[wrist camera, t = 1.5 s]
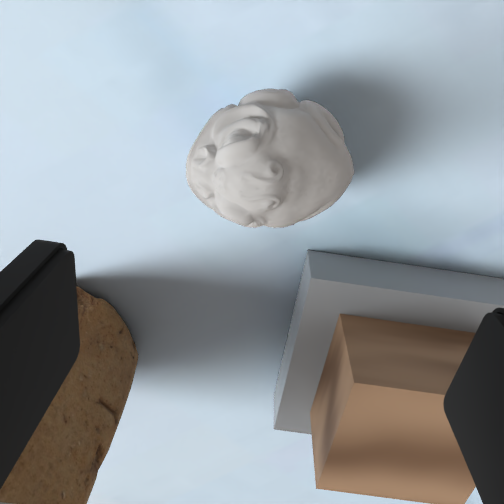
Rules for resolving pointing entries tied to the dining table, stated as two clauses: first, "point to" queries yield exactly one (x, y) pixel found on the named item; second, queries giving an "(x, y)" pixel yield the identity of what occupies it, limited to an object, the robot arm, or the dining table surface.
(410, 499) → the walnut block
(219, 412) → the dining table surface
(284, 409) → the slate plinth
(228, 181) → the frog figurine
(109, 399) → the block
